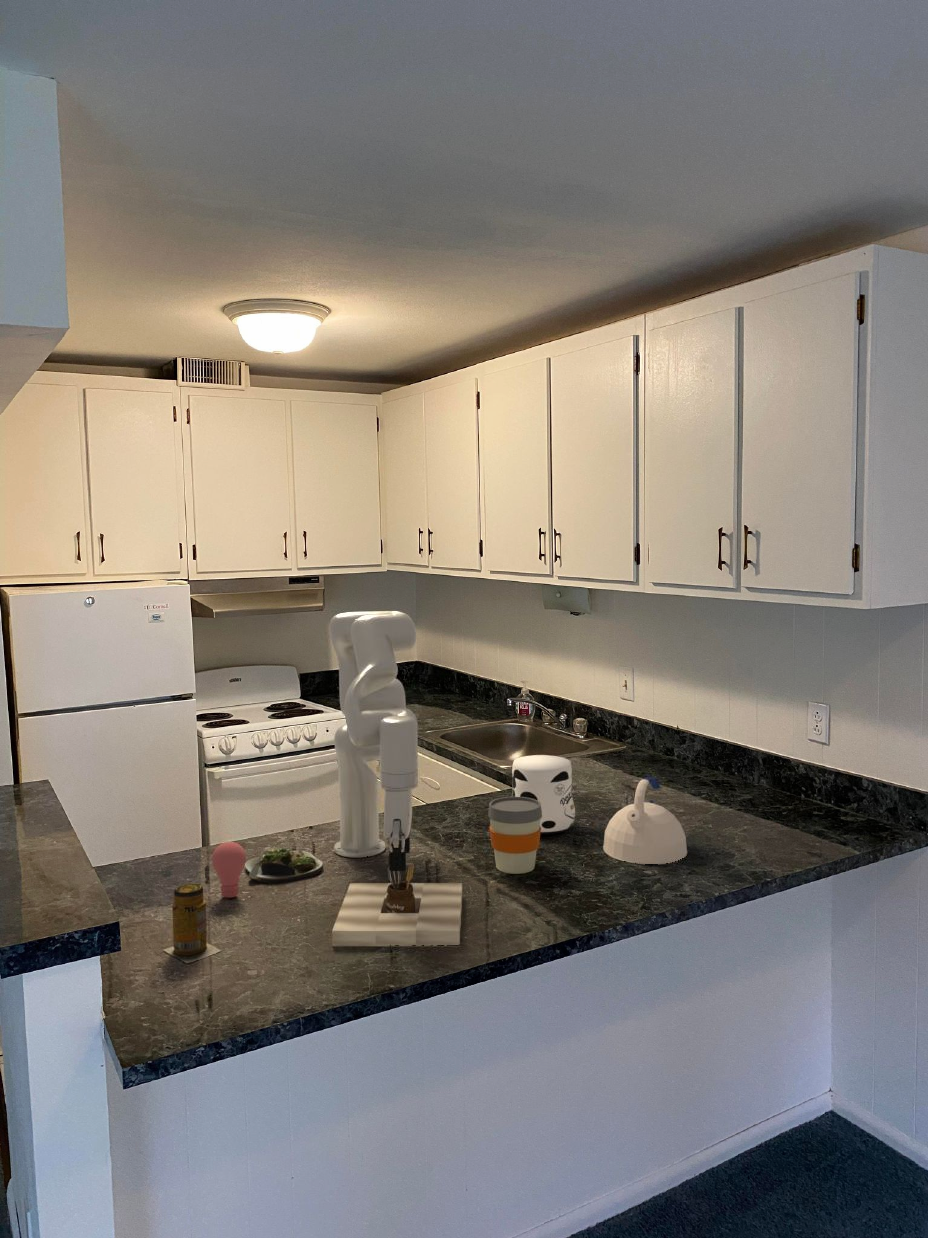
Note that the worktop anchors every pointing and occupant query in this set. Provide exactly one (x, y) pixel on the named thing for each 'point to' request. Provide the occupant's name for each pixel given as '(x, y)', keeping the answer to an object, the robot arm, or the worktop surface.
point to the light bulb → (229, 866)
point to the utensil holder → (401, 895)
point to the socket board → (399, 917)
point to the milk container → (546, 789)
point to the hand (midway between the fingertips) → (399, 861)
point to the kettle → (645, 832)
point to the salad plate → (283, 866)
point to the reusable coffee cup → (515, 833)
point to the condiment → (190, 925)
